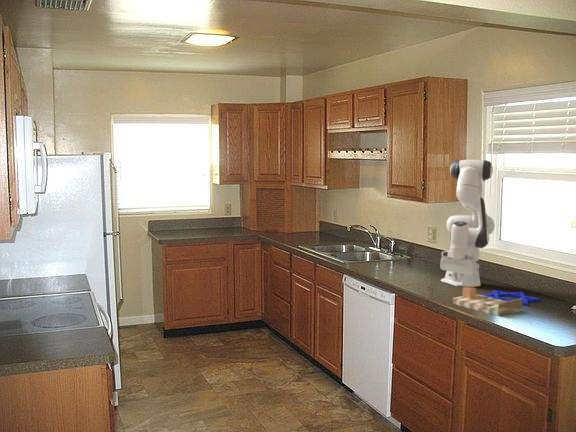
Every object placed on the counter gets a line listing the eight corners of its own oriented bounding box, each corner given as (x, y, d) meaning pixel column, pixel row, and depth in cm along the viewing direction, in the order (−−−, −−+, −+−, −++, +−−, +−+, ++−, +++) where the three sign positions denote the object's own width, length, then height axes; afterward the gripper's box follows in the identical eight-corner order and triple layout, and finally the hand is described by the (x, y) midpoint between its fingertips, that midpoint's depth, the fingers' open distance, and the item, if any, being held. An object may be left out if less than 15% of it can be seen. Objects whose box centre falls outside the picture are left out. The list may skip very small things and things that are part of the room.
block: (462, 296, 308) (462, 287, 308) (468, 295, 311) (468, 286, 310) (469, 298, 305) (470, 289, 304) (475, 297, 307) (476, 288, 307)
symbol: (471, 296, 316) (499, 287, 337) (471, 300, 316) (499, 290, 337) (521, 306, 298) (547, 296, 319) (521, 309, 298) (547, 299, 319)
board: (452, 303, 306) (453, 291, 305) (474, 299, 316) (475, 287, 315) (499, 316, 284) (500, 303, 283) (521, 311, 294) (522, 298, 293)
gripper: (480, 256, 305) (478, 284, 306) (447, 251, 321) (446, 277, 322) (472, 257, 301) (470, 285, 302) (439, 252, 317) (437, 278, 319)
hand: (457, 281), depth 312 cm, fingers closed
